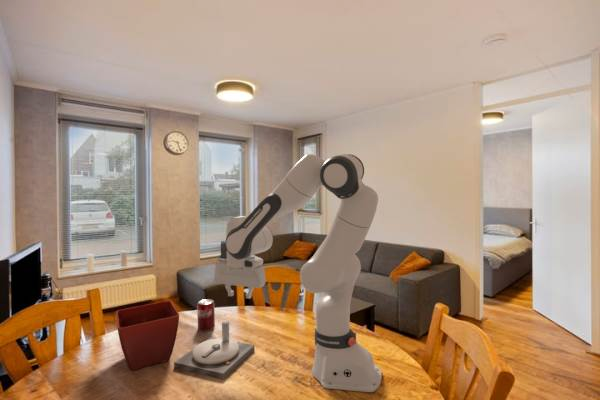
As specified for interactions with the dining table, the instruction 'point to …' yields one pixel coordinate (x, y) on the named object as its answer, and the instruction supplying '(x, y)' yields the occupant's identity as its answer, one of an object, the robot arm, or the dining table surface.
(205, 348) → the dial
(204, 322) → the soda can
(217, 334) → the dining table surface
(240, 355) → the dial base
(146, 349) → the plant pot
